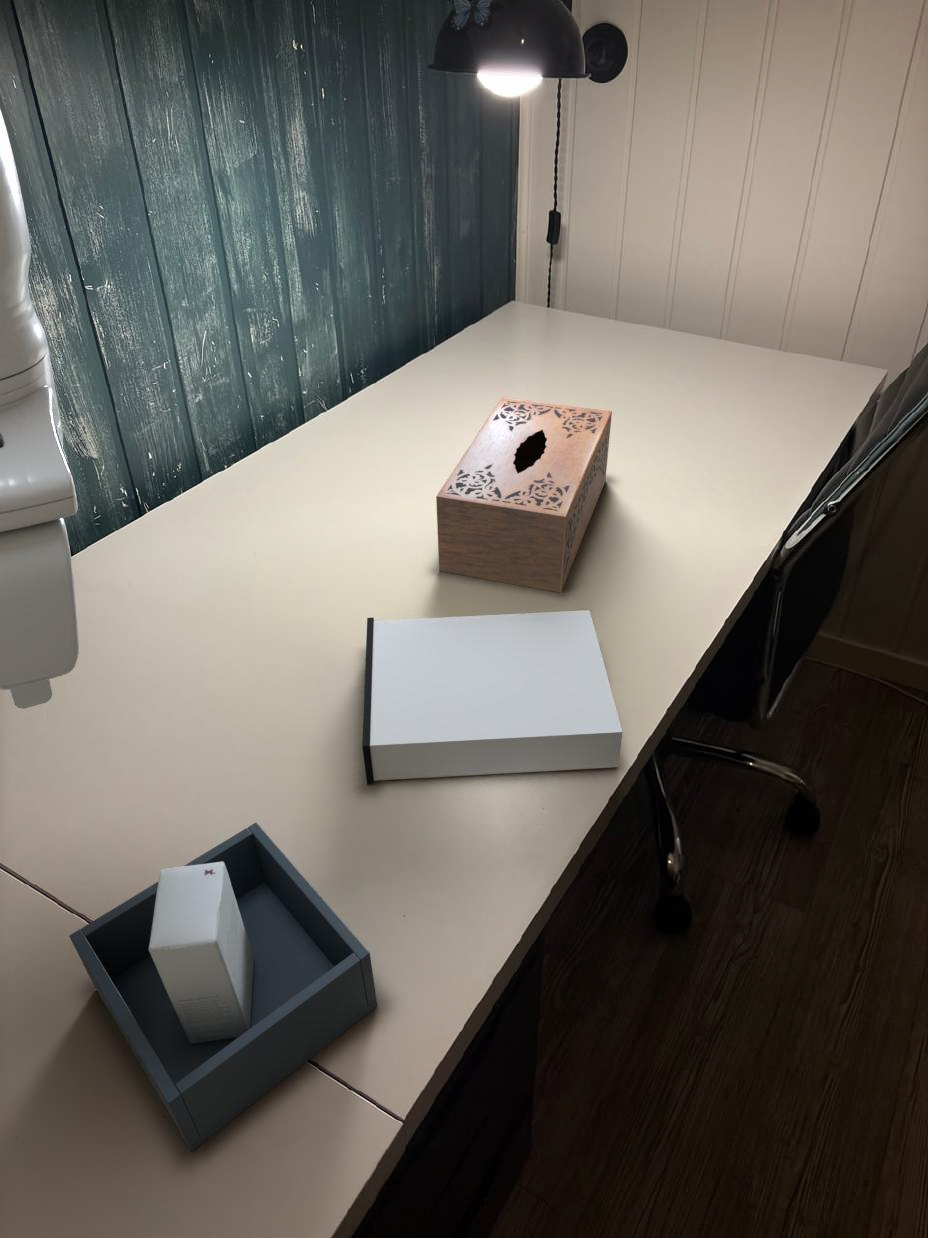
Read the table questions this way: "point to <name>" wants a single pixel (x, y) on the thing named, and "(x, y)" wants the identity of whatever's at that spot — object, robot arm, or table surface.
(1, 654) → the robot arm
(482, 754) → the disc drive
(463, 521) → the tissue box cover
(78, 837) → the table surface
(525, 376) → the table surface
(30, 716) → the table surface
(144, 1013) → the bin
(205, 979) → the cosmetic box
